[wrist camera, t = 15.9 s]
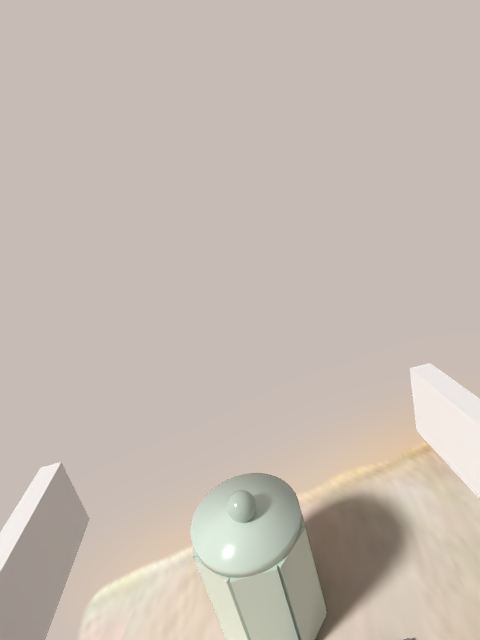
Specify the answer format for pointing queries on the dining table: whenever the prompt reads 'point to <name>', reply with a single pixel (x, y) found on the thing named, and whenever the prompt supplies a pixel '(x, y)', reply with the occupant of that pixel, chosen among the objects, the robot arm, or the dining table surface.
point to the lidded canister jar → (258, 560)
